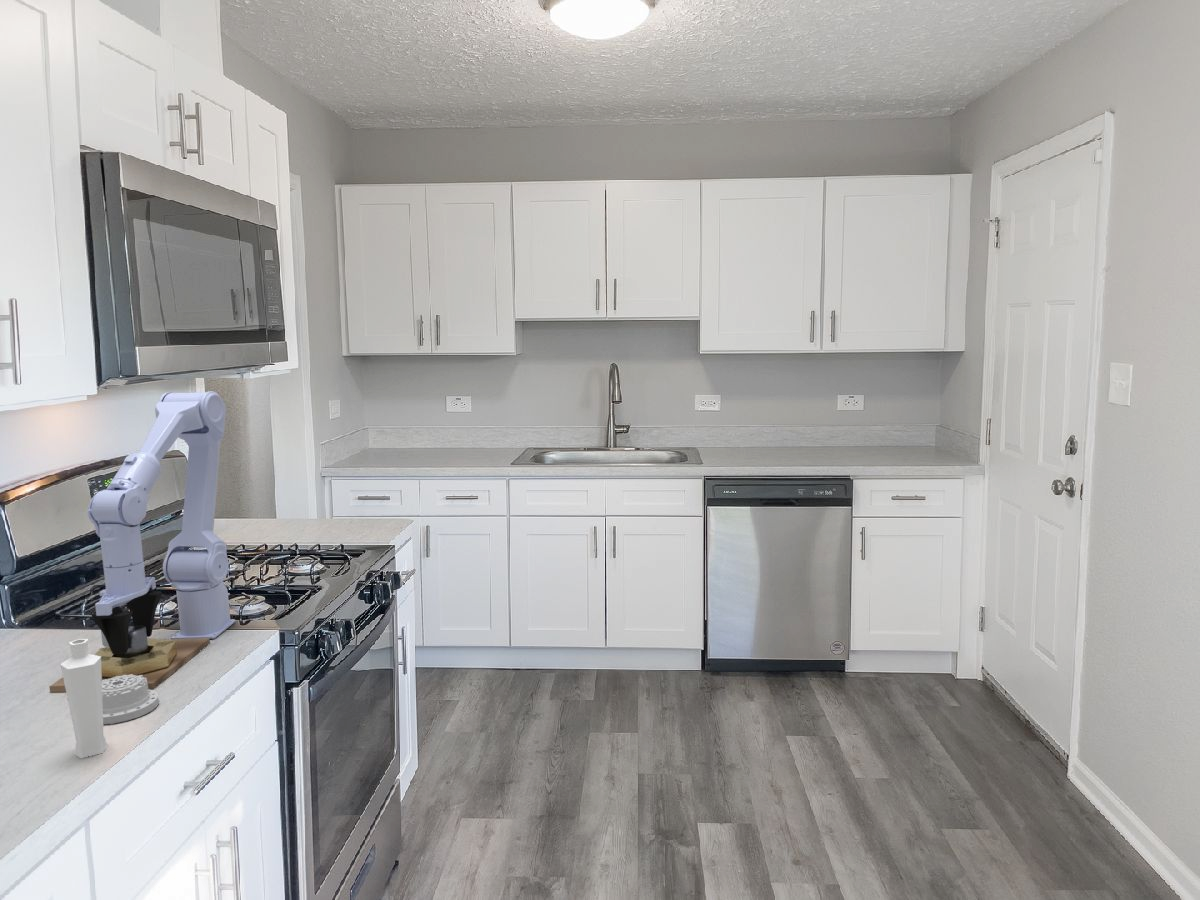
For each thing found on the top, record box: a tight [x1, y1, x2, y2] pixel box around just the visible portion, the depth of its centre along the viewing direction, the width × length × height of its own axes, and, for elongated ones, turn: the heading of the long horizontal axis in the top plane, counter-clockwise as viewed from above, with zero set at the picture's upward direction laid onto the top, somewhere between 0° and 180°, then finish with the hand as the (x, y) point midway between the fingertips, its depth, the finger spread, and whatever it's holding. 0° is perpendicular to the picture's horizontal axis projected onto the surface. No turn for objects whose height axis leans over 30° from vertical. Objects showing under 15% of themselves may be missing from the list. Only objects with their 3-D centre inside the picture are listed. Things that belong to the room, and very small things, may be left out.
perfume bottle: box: [60, 638, 109, 759], centre depth 116 cm, size 5×4×15 cm
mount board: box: [49, 638, 211, 693], centre depth 147 cm, size 20×16×1 cm
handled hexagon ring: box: [94, 630, 177, 678], centre depth 147 cm, size 20×13×3 cm
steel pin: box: [121, 625, 149, 658], centre depth 144 cm, size 4×4×6 cm
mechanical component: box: [102, 674, 160, 725], centre depth 129 cm, size 10×4×10 cm
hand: (132, 644), depth 144 cm, fingers open, 7 cm apart
